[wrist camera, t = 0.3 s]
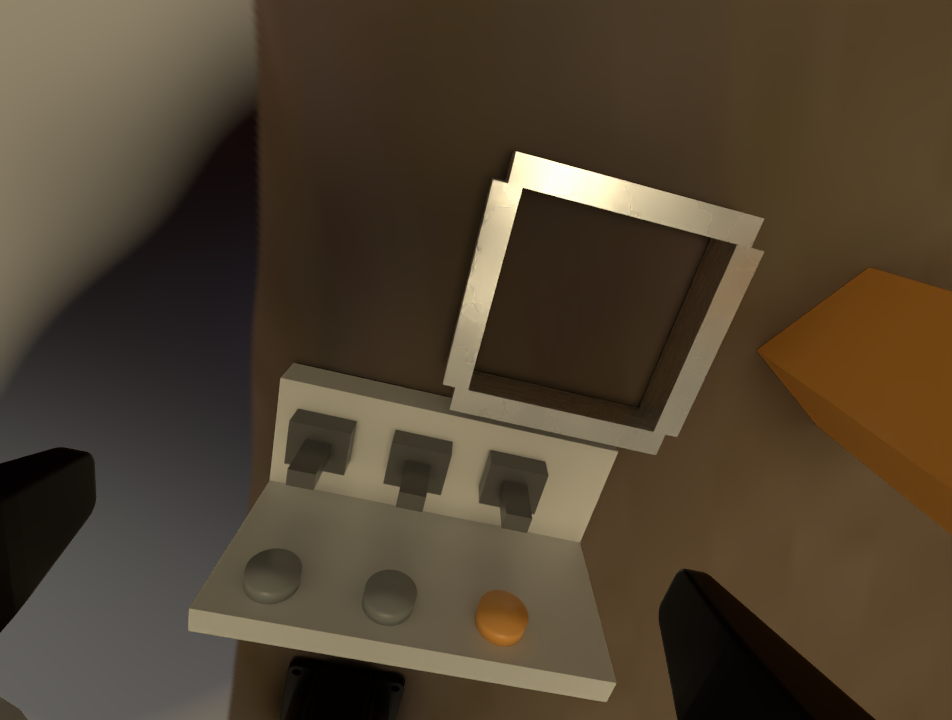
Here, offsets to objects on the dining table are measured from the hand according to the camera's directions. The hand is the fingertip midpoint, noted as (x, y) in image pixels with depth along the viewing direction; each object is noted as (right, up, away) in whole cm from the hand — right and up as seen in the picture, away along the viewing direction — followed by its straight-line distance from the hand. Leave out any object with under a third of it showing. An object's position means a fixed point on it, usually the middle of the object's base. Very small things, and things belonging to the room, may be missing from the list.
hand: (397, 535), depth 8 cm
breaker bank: (0, -2, +15) cm, 15 cm away
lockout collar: (+6, +5, +12) cm, 14 cm away
